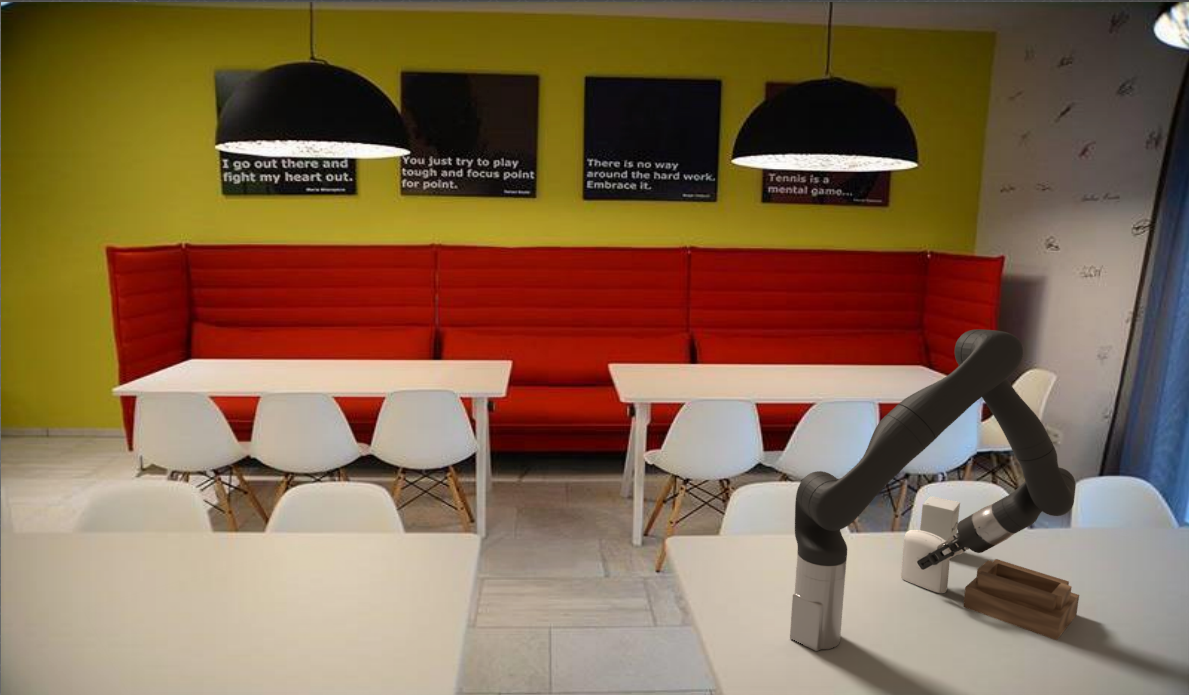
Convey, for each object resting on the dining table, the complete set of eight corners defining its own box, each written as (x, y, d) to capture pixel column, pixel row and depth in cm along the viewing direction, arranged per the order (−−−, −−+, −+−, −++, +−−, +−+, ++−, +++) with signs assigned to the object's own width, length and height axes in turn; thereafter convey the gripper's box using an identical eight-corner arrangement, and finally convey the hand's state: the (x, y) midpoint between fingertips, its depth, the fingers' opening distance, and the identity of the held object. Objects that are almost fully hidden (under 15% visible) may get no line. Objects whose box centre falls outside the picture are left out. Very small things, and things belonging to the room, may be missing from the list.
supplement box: (948, 560, 191) (953, 510, 189) (916, 551, 196) (921, 503, 193) (956, 549, 197) (961, 501, 195) (925, 541, 202) (929, 494, 199)
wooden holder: (1056, 642, 157) (1061, 604, 155) (962, 608, 169) (966, 573, 168) (1076, 616, 166) (1081, 581, 165) (986, 586, 179) (990, 553, 177)
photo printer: (897, 578, 181) (901, 528, 179) (907, 573, 184) (911, 523, 182) (940, 596, 173) (946, 543, 171) (950, 590, 176) (955, 538, 174)
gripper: (989, 503, 173) (930, 537, 184) (961, 520, 163) (901, 555, 174) (1012, 534, 170) (951, 566, 181) (984, 553, 161) (922, 586, 171)
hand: (927, 560), depth 177 cm, fingers open, 6 cm apart
